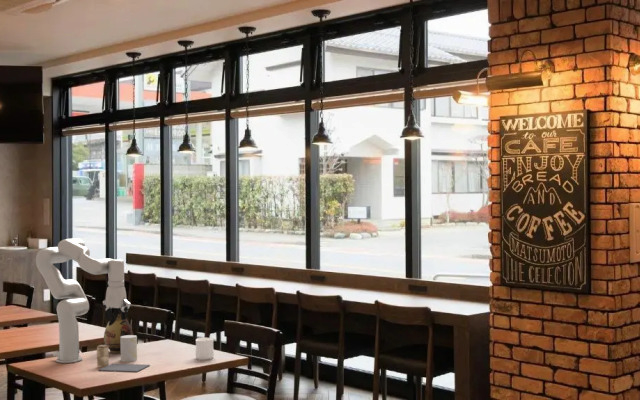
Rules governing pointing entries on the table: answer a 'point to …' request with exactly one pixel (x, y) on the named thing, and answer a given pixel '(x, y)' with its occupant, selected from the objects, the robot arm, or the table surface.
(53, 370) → the table surface
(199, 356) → the cup
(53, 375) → the table surface
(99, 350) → the block
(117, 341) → the ceramic jug
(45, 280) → the robot arm
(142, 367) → the mat
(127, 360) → the cup
